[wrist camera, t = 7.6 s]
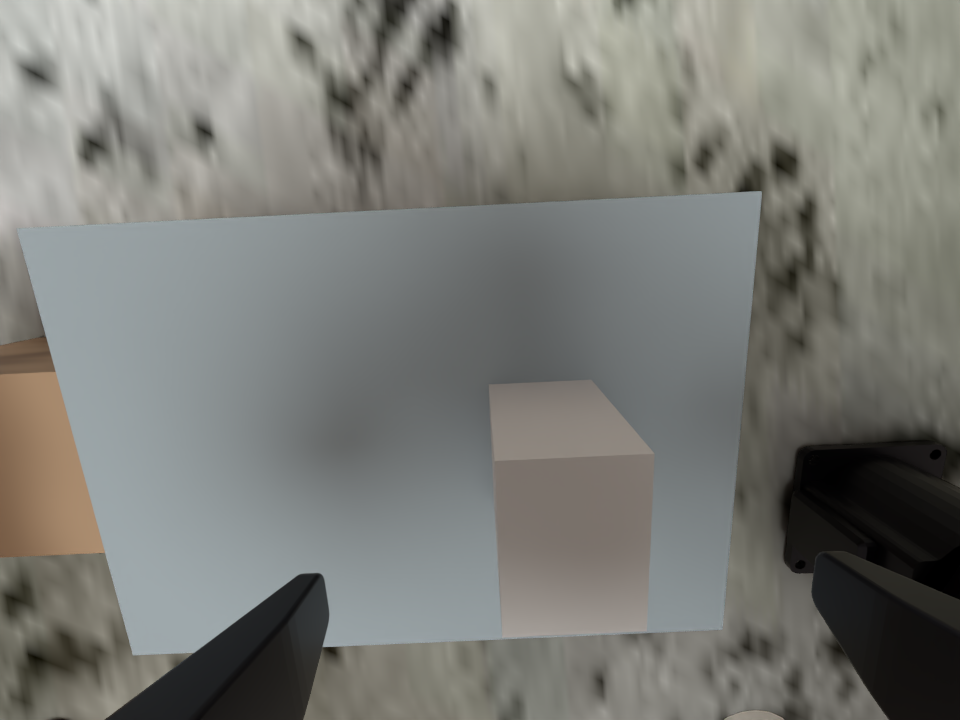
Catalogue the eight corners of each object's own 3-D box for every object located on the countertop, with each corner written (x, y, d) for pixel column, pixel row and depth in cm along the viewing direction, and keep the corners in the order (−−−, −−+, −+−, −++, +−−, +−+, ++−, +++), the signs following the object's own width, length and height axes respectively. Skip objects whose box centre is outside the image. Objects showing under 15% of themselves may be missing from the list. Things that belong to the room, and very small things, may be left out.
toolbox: (661, 211, 19) (761, 191, 12) (648, 513, 22) (722, 629, 16) (12, 243, 19) (-241, 241, 13) (94, 538, 23) (-71, 664, 16)
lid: (741, 195, 13) (946, 154, 7) (708, 607, 17) (832, 801, 11) (50, 229, 13) (-278, 216, 8) (153, 631, 17) (-21, 836, 11)
